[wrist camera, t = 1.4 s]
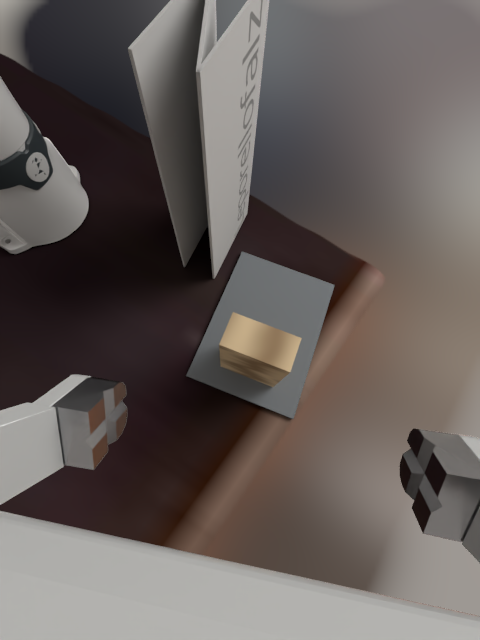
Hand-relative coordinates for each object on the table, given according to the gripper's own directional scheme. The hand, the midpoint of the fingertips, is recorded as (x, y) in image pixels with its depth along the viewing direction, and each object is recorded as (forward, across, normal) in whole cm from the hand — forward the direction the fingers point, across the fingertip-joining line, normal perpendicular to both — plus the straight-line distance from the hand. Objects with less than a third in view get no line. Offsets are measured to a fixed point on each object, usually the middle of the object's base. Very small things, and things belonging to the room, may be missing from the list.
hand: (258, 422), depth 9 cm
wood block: (+32, +2, +15) cm, 35 cm away
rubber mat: (+36, +1, +11) cm, 38 cm away
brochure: (+45, +11, -1) cm, 46 cm away
